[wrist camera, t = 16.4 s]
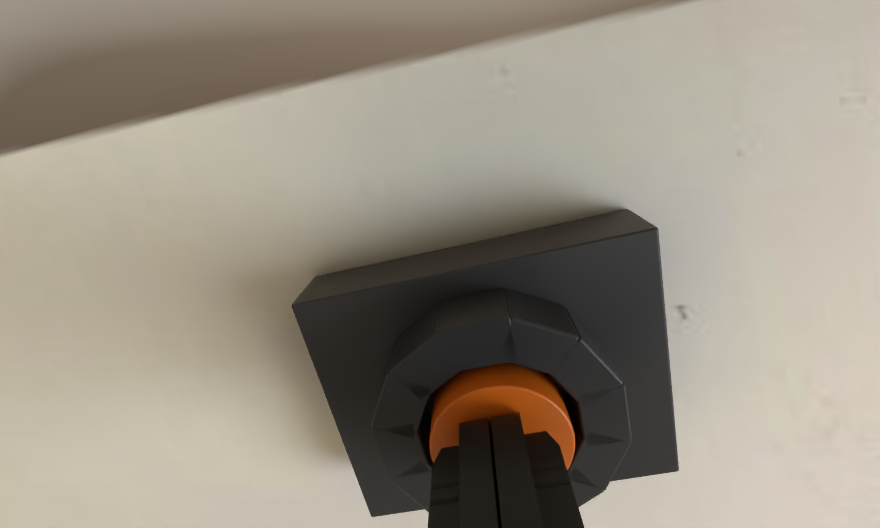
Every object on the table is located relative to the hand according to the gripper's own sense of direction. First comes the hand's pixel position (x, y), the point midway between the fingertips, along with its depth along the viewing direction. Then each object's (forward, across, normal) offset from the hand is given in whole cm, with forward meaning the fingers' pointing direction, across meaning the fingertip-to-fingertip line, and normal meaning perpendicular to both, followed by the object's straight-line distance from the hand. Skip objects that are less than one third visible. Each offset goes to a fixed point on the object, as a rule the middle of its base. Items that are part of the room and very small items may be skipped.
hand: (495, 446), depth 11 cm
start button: (+2, 0, 0) cm, 2 cm away
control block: (+4, 0, 0) cm, 5 cm away
